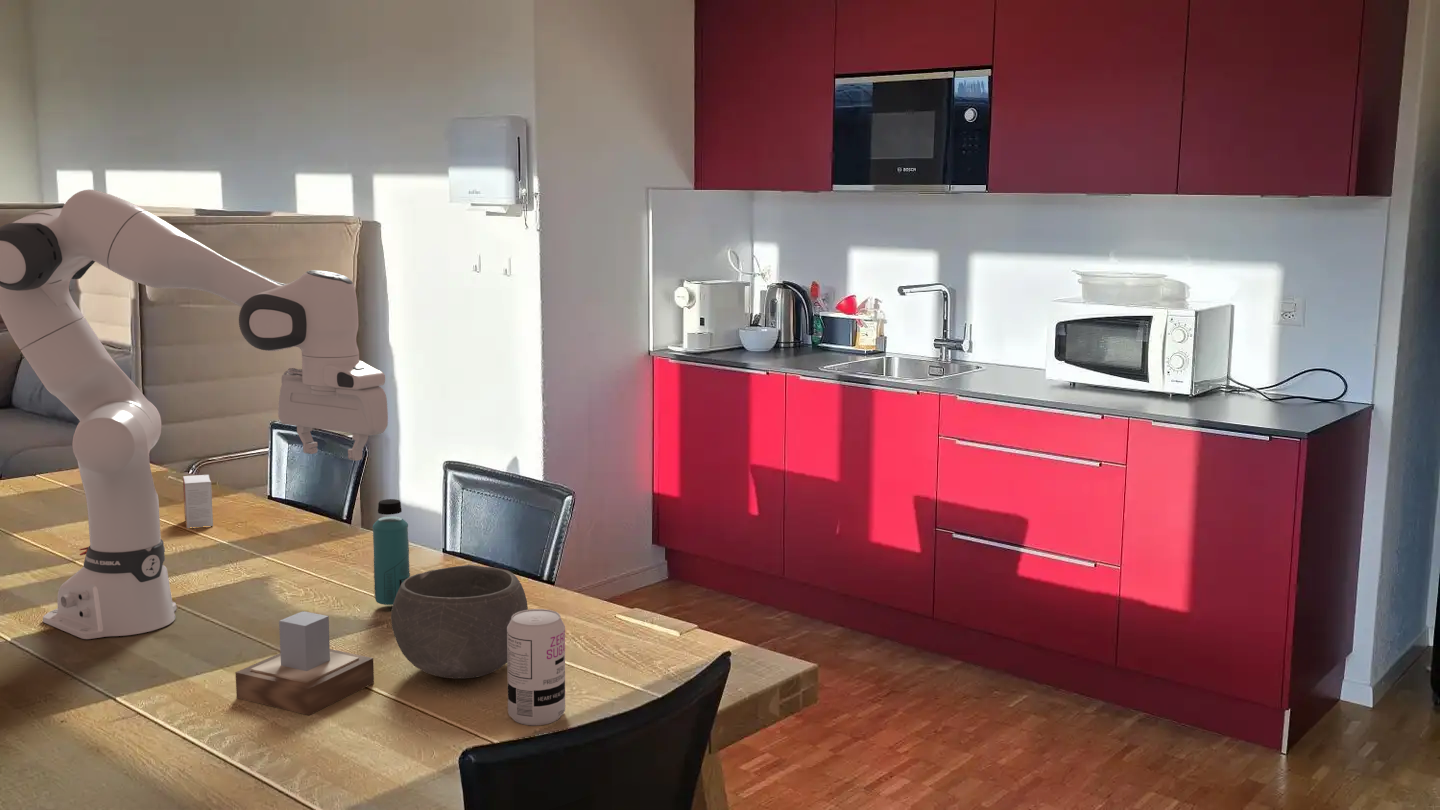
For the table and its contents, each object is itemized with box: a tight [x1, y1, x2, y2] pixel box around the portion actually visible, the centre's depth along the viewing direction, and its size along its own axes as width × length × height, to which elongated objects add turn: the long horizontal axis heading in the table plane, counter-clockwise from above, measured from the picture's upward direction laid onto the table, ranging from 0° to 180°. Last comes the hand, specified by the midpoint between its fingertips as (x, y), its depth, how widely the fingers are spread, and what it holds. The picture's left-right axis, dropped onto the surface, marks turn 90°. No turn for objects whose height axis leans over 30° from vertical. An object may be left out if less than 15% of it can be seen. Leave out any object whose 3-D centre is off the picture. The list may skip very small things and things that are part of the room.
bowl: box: [390, 564, 529, 679], centre depth 200 cm, size 21×21×15 cm
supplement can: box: [506, 608, 566, 726], centre depth 183 cm, size 8×8×15 cm
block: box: [278, 611, 331, 671], centre depth 191 cm, size 5×5×7 cm
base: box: [235, 648, 375, 716], centre depth 192 cm, size 14×14×4 cm
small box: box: [182, 474, 214, 529], centre depth 285 cm, size 8×6×10 cm
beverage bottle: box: [372, 498, 411, 606], centre depth 230 cm, size 6×7×20 cm
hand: (332, 456), depth 207 cm, fingers open, 8 cm apart
